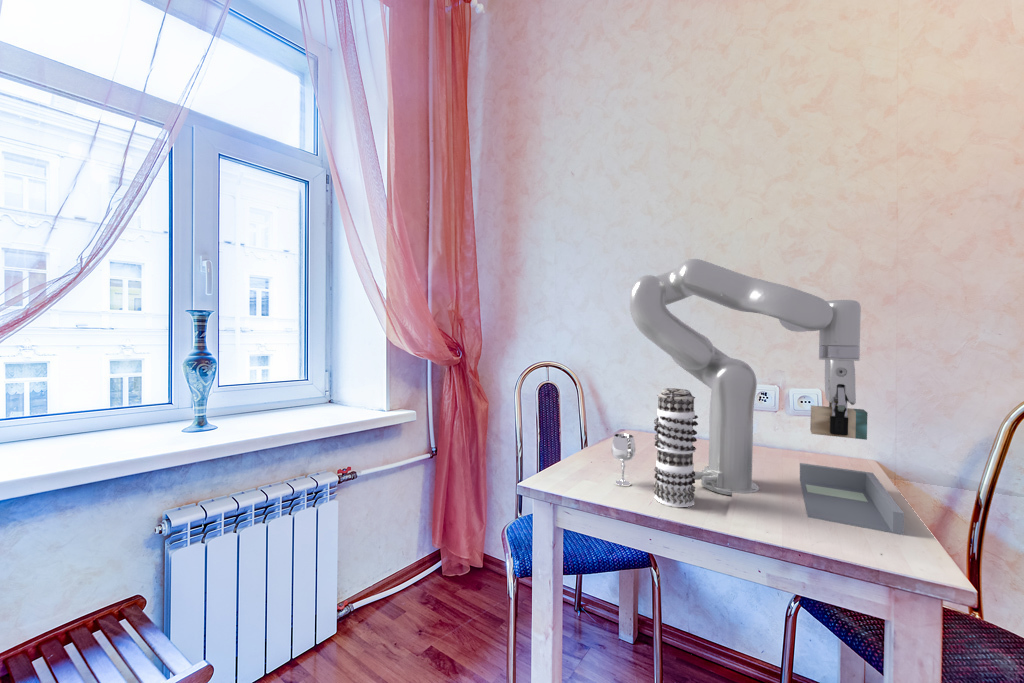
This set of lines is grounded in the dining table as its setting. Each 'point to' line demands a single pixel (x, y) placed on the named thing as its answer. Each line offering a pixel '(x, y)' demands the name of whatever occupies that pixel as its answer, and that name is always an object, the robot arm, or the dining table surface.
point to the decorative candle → (675, 448)
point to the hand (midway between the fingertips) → (837, 431)
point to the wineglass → (623, 451)
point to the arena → (849, 498)
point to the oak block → (855, 422)
